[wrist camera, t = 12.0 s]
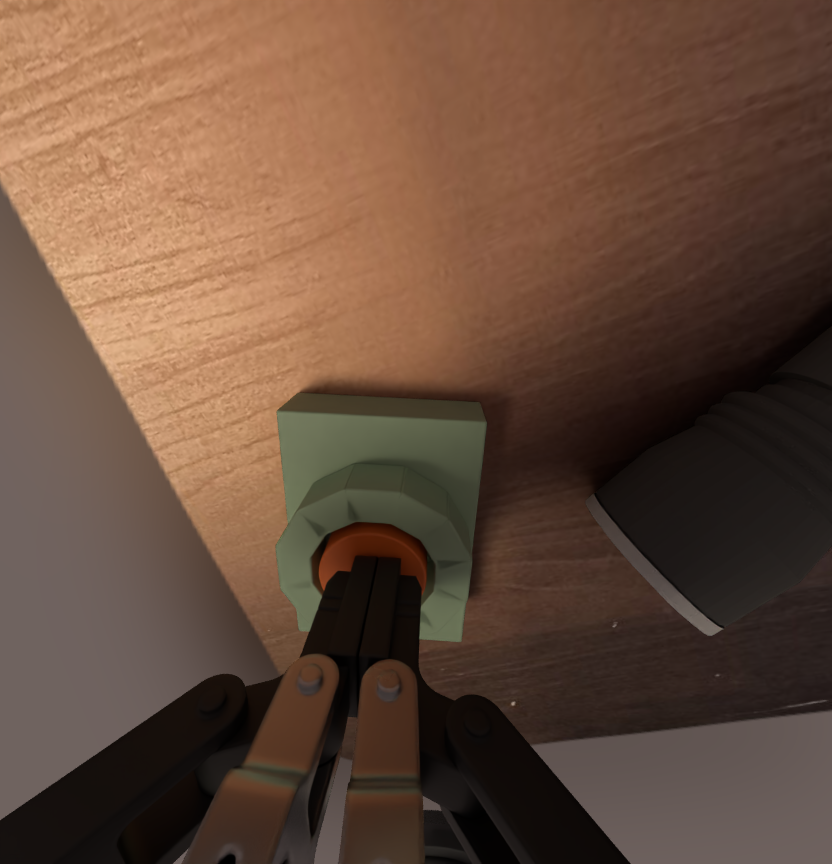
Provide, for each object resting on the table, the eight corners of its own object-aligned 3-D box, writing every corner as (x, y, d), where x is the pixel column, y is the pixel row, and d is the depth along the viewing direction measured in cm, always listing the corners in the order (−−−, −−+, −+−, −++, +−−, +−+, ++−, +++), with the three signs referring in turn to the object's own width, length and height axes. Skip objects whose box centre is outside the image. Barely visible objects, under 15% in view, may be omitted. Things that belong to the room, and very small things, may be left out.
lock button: (425, 585, 15) (424, 622, 13) (333, 579, 15) (320, 616, 13) (430, 506, 14) (429, 537, 12) (328, 500, 14) (314, 530, 12)
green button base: (458, 602, 18) (464, 684, 15) (313, 592, 19) (282, 671, 15) (480, 401, 15) (495, 444, 11) (297, 392, 15) (251, 430, 11)
